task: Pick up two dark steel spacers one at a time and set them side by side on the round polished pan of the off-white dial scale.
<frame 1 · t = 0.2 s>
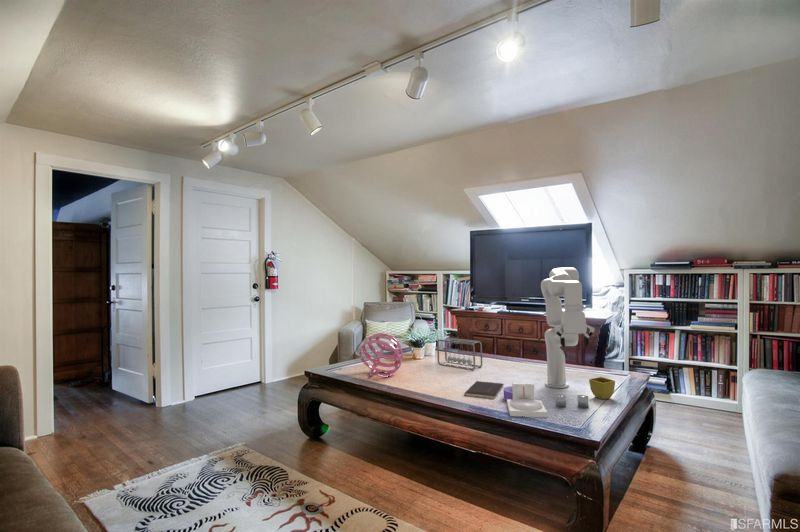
hand: (574, 346, 183), 30 cm above the table, fingers open, 9 cm apart
newton's cradle: (459, 366, 278), on the table
pink openwork sphere sculpture: (383, 375, 260), on the table
scale: (526, 410, 188), on the table
spacer b: (583, 406, 192), on the table
spacer a: (560, 406, 193), on the table
tape roll: (515, 399, 206), on the table
hardcover book: (484, 392, 220), on the table
flower pot: (602, 398, 204), on the table
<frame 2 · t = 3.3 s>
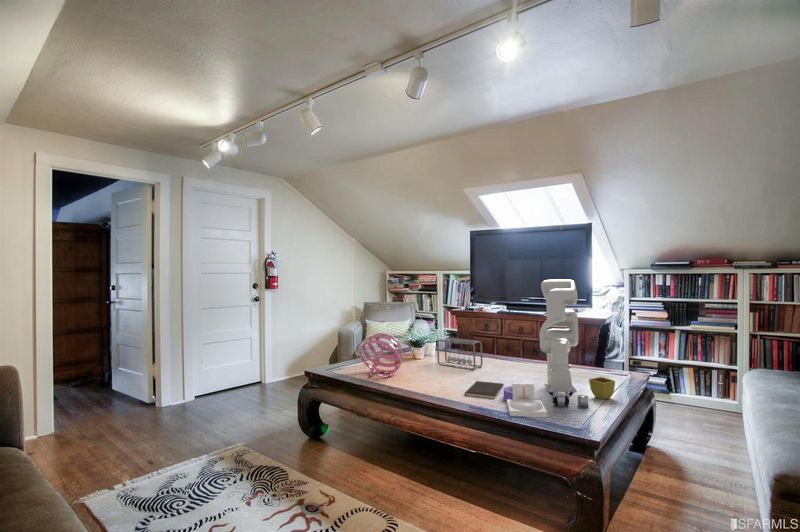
hand: (560, 405, 193), 0 cm above the table, fingers closed on spacer a, 4 cm apart
spacer a: (560, 406, 193), on the table, touching gripper
everything else where it was.
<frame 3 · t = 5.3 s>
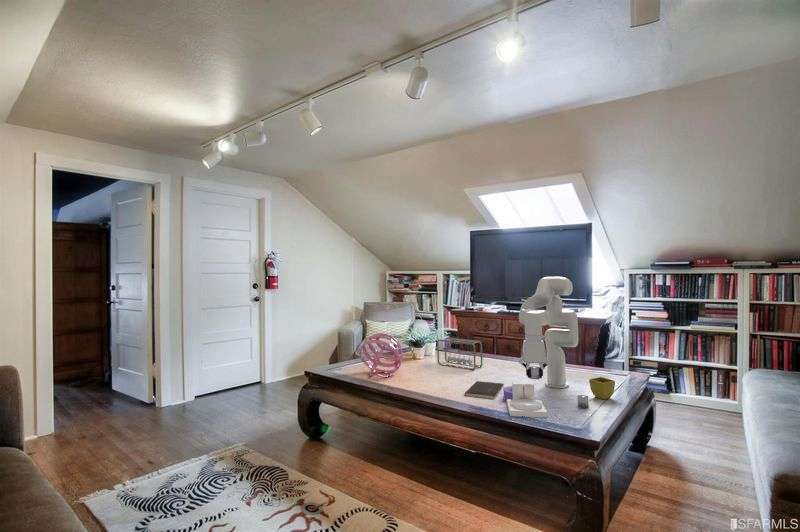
hand: (534, 377, 188), 16 cm above the table, fingers closed on spacer a, 4 cm apart
spacer a: (534, 378, 188), point 15 cm above the table, touching gripper
everything else where it was.
when the fingers open (5 cm above the table, at t = 7.5 s): spacer a drops 1 cm, resting on scale.
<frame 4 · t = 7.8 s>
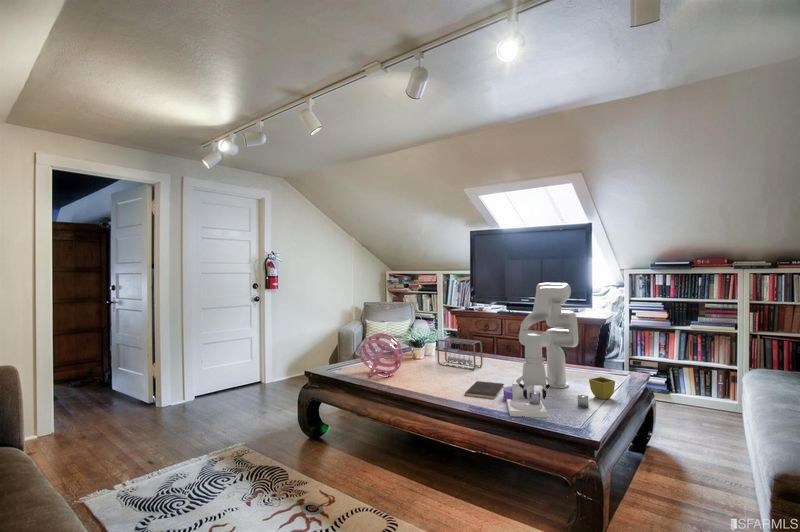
hand: (534, 398, 188), 6 cm above the table, fingers open, 7 cm apart
spacer a: (535, 403, 188), point 3 cm above the table, touching scale
everything else where it was.
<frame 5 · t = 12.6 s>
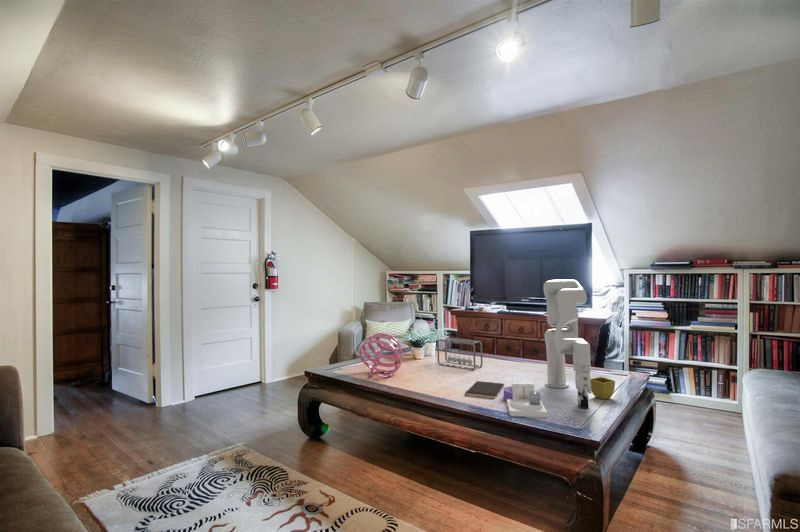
hand: (583, 405, 192), 0 cm above the table, fingers closed on spacer b, 4 cm apart
spacer b: (583, 406, 192), on the table, touching gripper
everything else where it was.
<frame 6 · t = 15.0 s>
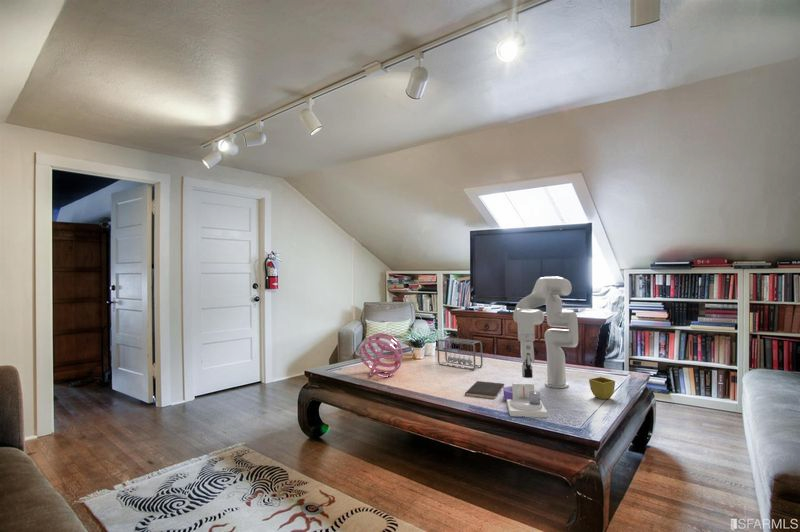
hand: (527, 375, 189), 16 cm above the table, fingers closed on spacer b, 4 cm apart
spacer b: (527, 376, 189), point 15 cm above the table, touching gripper
everything else where it was.
when the fingers open (5 cm above the table, at t = 17.6 s): spacer b drops 1 cm, resting on scale.
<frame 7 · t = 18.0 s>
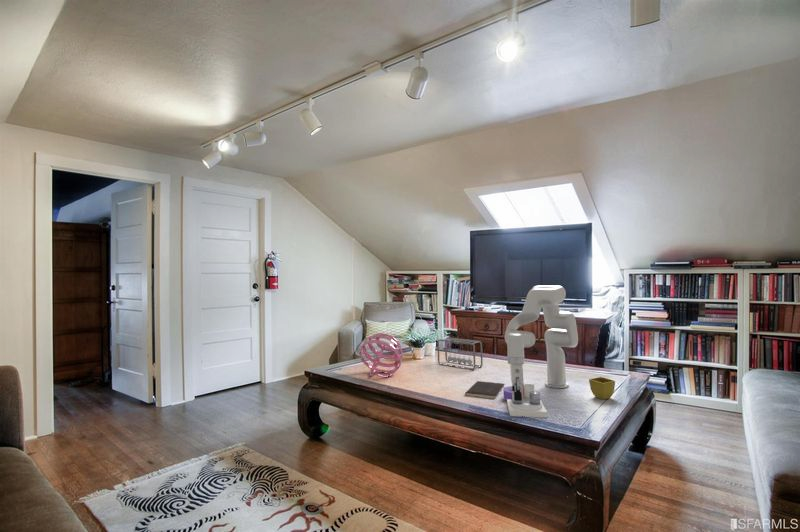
hand: (516, 397, 189), 6 cm above the table, fingers open, 8 cm apart
spacer b: (517, 402, 189), point 3 cm above the table, touching scale
everything else where it was.
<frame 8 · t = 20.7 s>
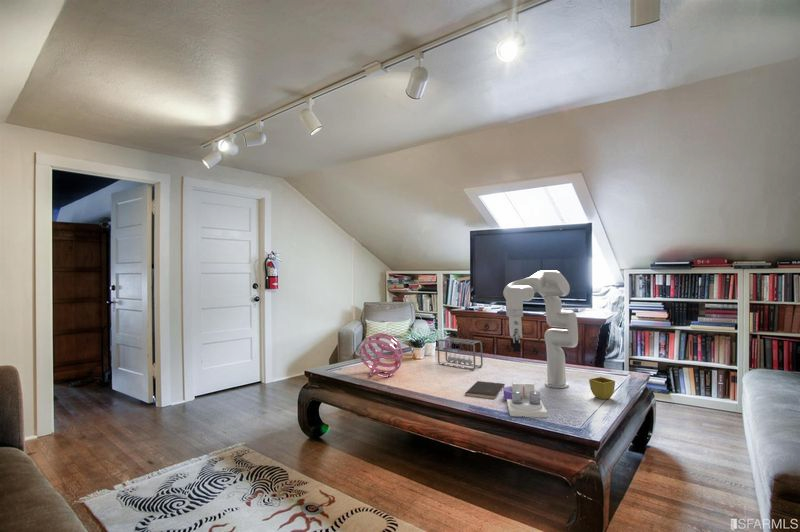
hand: (515, 349, 189), 28 cm above the table, fingers open, 9 cm apart
nothing on the table moved.
at the end: spacer a inside the target area on the scale (4.0 cm from its centre), point 3.4 cm above the scale's base; spacer b inside the target area on the scale (3.9 cm from its centre), point 3.4 cm above the scale's base; spacer b tilted 0° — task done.
